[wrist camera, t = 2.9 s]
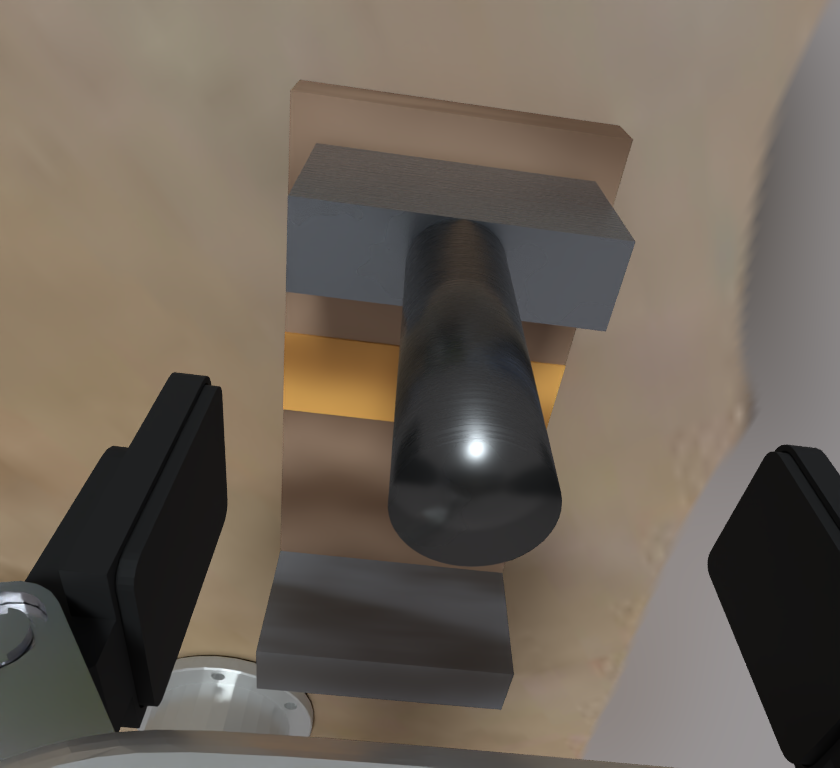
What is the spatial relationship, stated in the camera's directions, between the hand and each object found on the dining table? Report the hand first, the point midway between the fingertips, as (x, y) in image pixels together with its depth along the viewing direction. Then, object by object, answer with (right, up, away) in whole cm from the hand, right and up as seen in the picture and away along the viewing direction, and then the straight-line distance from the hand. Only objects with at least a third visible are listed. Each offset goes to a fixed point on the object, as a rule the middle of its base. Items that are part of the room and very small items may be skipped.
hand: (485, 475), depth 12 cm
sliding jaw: (0, +8, +13) cm, 15 cm away
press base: (-1, +1, +21) cm, 21 cm away
